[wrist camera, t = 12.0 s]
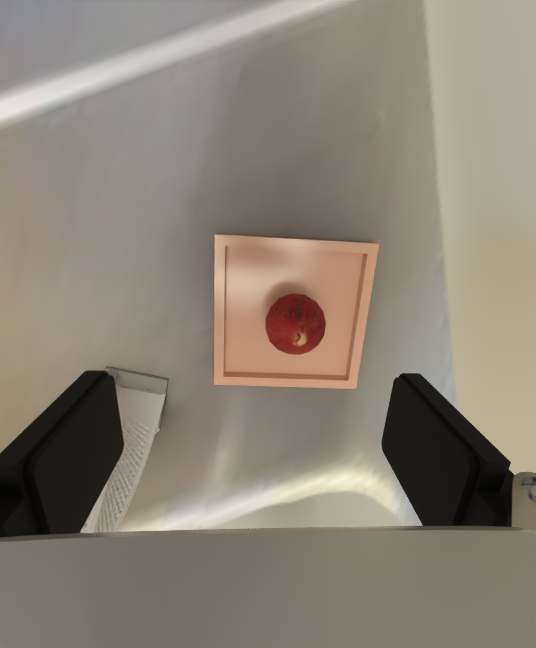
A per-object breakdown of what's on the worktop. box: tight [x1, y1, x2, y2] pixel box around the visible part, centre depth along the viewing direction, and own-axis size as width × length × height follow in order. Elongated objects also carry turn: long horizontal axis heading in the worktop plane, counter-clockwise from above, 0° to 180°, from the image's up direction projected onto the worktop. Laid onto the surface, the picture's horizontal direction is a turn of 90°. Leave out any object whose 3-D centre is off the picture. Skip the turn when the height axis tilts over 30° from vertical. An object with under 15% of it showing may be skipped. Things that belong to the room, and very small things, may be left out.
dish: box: [214, 234, 379, 389], centre depth 33 cm, size 16×16×2 cm
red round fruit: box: [265, 293, 326, 355], centre depth 30 cm, size 6×6×8 cm
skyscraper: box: [80, 367, 168, 533], centre depth 24 cm, size 8×8×28 cm
